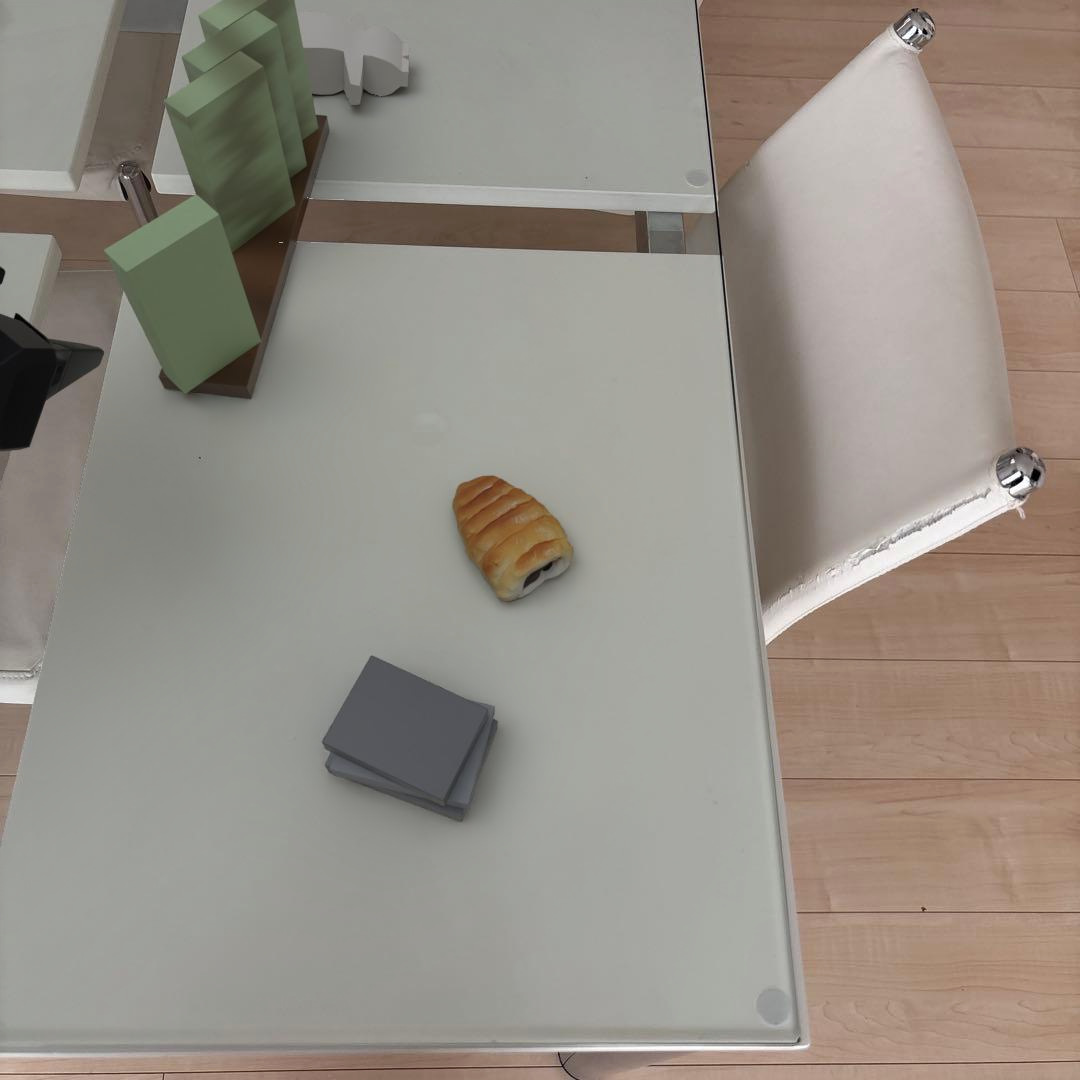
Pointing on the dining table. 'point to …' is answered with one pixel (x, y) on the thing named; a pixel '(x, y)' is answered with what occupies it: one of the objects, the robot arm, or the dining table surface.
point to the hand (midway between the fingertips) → (50, 315)
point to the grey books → (410, 739)
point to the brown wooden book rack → (250, 153)
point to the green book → (186, 292)
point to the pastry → (509, 536)
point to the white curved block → (352, 56)
